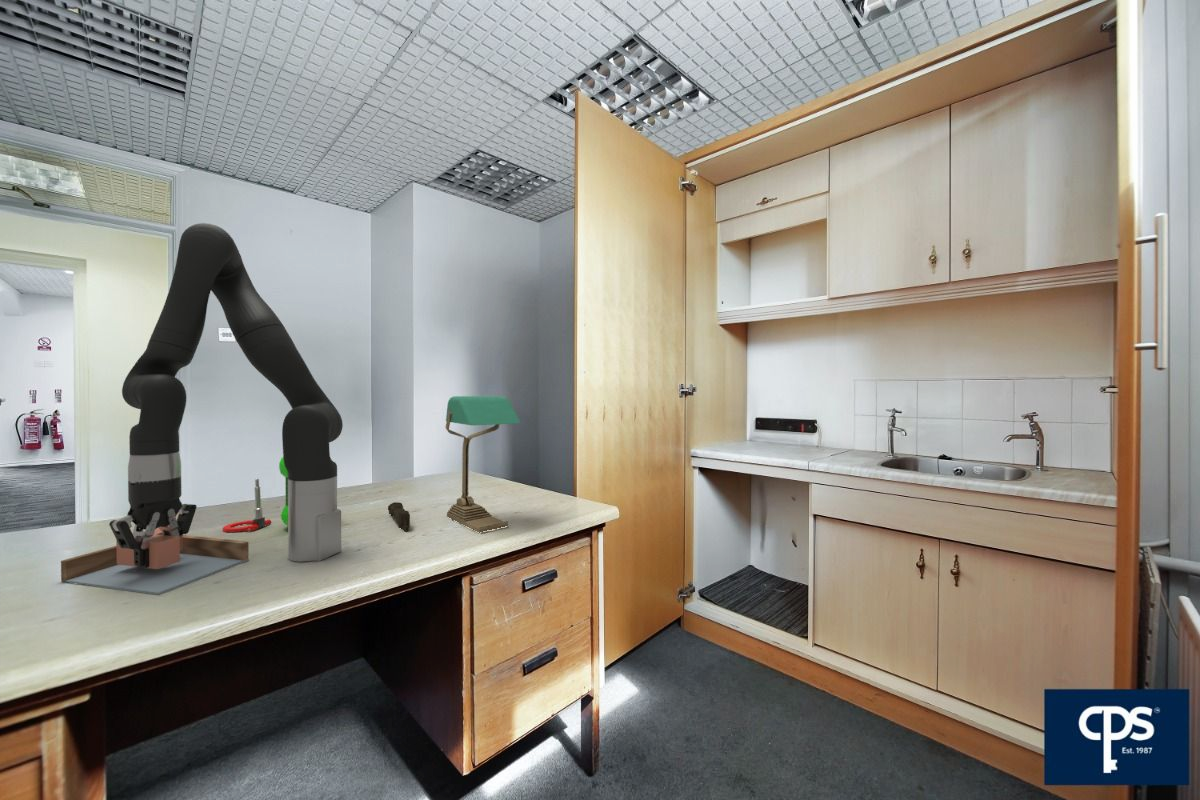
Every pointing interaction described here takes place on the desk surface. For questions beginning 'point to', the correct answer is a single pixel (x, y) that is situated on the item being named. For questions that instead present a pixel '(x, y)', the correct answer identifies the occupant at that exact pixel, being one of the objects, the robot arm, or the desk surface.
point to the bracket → (155, 551)
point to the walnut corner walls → (190, 546)
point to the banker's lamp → (468, 413)
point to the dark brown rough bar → (400, 515)
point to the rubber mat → (156, 574)
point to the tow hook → (258, 516)
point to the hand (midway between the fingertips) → (156, 562)
